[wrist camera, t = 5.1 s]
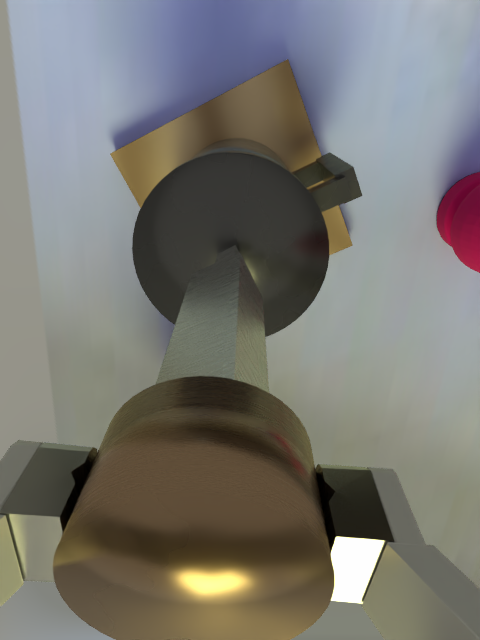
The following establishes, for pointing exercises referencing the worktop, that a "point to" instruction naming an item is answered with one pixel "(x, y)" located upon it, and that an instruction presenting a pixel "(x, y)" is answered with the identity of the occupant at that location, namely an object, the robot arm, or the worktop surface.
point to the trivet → (233, 122)
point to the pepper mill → (462, 220)
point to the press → (241, 225)
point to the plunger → (202, 492)
